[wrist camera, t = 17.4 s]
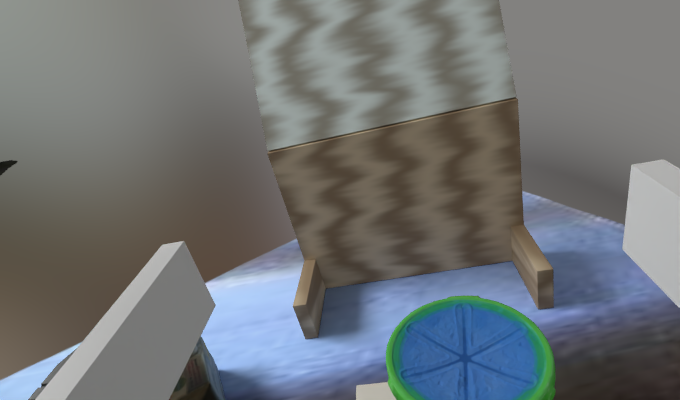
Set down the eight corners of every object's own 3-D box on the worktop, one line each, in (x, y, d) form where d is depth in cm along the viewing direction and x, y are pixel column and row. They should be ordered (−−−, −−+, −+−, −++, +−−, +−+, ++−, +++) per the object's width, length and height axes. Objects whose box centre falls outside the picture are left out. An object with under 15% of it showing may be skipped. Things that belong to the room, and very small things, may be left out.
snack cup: (426, 353, 39) (409, 271, 34) (547, 367, 34) (545, 275, 30) (386, 542, 26) (352, 450, 22) (569, 602, 22) (572, 502, 17)
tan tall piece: (305, 338, 45) (137, -94, 27) (323, 243, 63) (228, -59, 45) (553, 307, 41) (548, -239, 23) (499, 214, 58) (471, -137, 40)
